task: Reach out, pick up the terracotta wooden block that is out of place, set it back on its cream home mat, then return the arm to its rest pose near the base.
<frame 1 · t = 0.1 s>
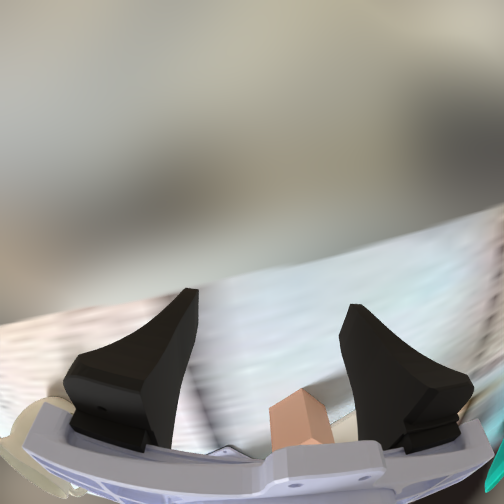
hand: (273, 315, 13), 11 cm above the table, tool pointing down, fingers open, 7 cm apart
block: (297, 407, 28), on the table
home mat: (370, 441, 31), on the table
pitcher: (71, 416, 30), on the table
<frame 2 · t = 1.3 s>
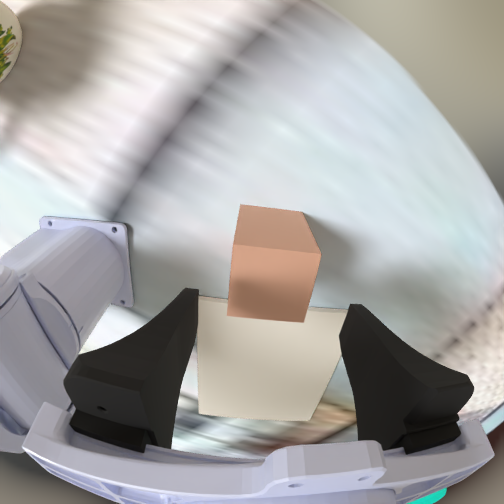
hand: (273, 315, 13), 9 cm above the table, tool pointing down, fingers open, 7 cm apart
block: (267, 236, 22), on the table
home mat: (265, 372, 28), on the table
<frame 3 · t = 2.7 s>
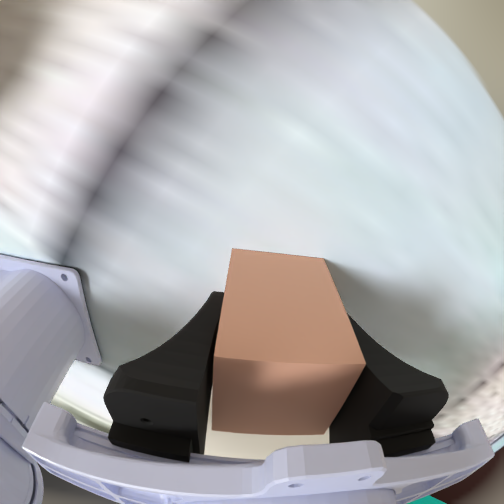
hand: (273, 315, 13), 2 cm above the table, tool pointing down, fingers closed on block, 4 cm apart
table top decor: (372, 498, 39), on the table
block: (272, 292, 15), on the table, touching gripper
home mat: (267, 432, 21), on the table
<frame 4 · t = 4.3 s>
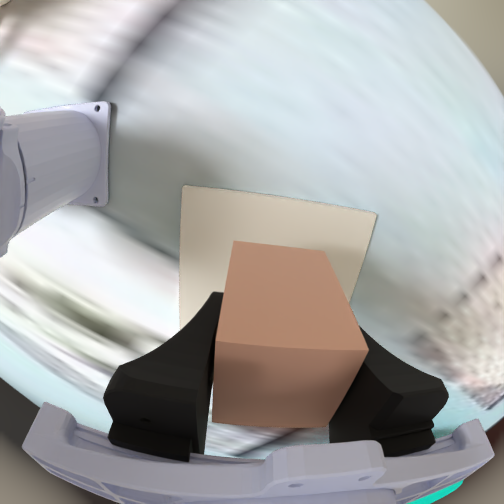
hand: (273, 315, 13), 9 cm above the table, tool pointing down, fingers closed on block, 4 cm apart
table top decor: (376, 459, 42), on the table
block: (272, 285, 15), point 7 cm above the table, touching gripper
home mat: (264, 302, 24), on the table
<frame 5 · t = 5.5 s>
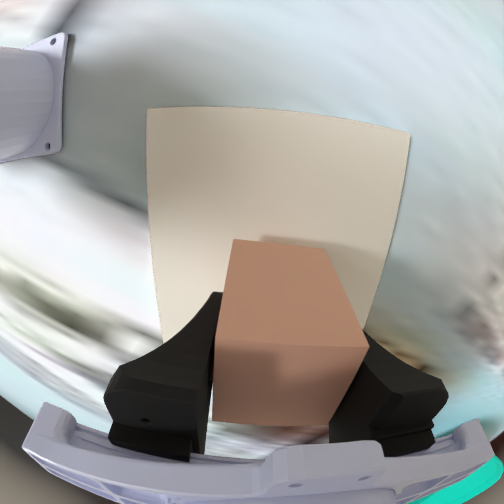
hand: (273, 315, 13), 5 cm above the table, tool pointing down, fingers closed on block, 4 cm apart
table top decor: (408, 460, 34), on the table
block: (272, 283, 15), point 2 cm above the table, touching gripper
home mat: (269, 268, 17), on the table
when the fingers open (4 cm above the table, at t = 6.1 s): block drops 1 cm, resting on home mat.
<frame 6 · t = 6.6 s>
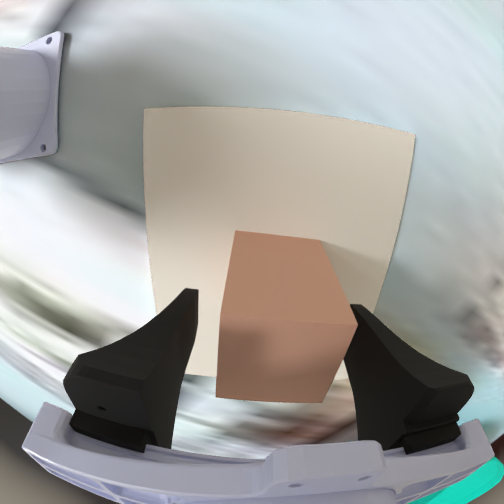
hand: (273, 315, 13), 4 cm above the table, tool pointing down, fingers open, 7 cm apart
table top decor: (408, 463, 34), on the table
block: (272, 272, 16), point 1 cm above the table, touching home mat
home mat: (270, 272, 17), on the table
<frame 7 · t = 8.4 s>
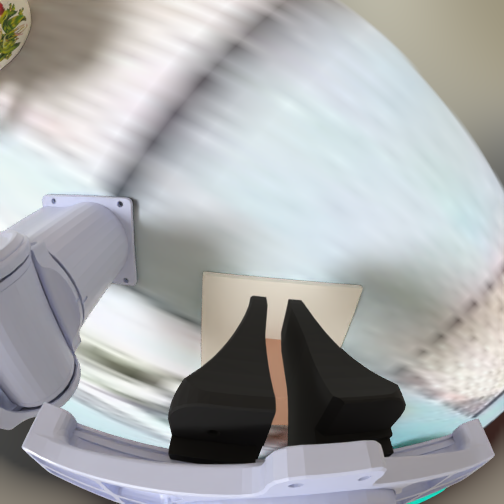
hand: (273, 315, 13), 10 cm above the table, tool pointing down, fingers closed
block: (271, 355, 28), point 1 cm above the table, touching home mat
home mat: (270, 353, 28), on the table
pitcher: (6, 45, 13), on the table
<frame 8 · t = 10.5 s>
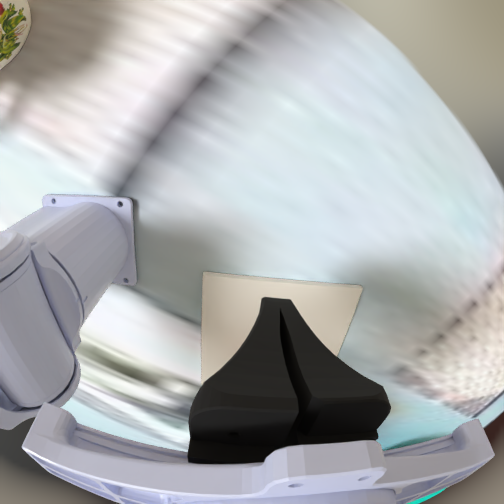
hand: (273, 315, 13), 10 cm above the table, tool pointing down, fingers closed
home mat: (270, 353, 28), on the table
pitcher: (6, 45, 13), on the table
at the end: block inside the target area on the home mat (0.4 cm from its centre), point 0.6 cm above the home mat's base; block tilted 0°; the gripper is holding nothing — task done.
